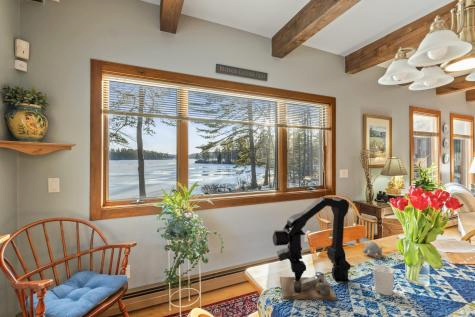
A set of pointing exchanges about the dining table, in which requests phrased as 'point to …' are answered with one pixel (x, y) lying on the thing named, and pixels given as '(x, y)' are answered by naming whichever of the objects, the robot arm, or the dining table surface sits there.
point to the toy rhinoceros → (372, 249)
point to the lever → (308, 282)
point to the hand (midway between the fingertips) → (295, 276)
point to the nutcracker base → (307, 290)
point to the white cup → (383, 279)
